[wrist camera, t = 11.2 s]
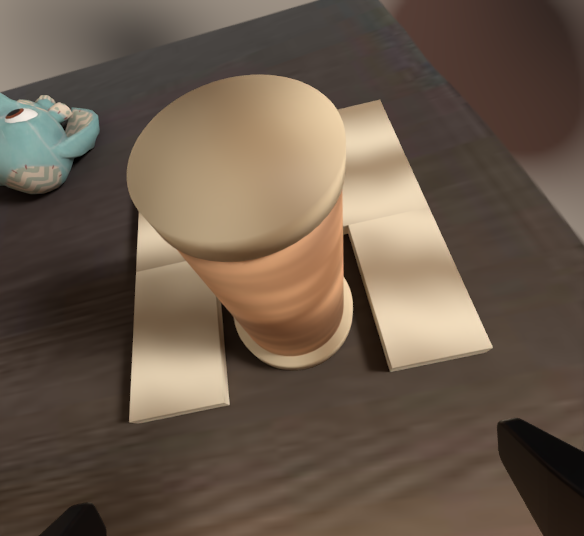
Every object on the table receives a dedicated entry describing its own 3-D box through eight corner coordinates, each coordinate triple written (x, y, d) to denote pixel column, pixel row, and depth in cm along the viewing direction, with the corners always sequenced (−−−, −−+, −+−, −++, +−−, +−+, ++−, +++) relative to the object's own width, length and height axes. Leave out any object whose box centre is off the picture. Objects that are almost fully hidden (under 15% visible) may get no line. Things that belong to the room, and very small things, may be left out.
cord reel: (286, 397, 19) (194, 316, 7) (218, 308, 22) (75, 151, 10) (377, 316, 20) (420, 140, 9) (301, 243, 23) (257, 39, 12)
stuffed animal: (62, 33, 29) (49, 86, 22) (113, 113, 35) (117, 177, 27) (-63, 79, 29) (-122, 150, 21) (9, 154, 34) (-17, 230, 27)
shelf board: (485, 352, 18) (492, 347, 18) (139, 423, 19) (129, 422, 18) (378, 110, 28) (379, 99, 27) (147, 164, 28) (141, 155, 27)
